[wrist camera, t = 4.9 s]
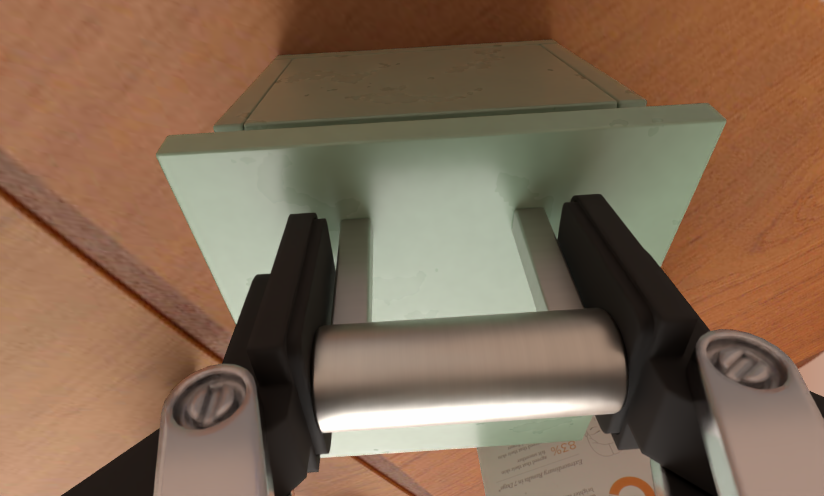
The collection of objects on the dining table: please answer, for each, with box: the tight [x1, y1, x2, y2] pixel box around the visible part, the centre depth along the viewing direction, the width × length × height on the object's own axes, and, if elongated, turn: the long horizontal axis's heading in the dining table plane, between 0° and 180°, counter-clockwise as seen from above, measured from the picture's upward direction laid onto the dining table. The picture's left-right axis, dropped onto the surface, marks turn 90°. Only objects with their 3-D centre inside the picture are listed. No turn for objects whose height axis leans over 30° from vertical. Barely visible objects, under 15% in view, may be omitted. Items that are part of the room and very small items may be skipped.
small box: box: [477, 415, 655, 496], centre depth 25 cm, size 8×6×13 cm
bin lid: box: [156, 103, 726, 458], centre depth 13 cm, size 14×12×6 cm
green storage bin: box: [213, 39, 647, 133], centre depth 20 cm, size 14×12×9 cm
